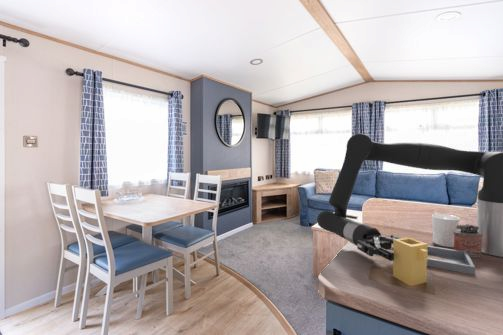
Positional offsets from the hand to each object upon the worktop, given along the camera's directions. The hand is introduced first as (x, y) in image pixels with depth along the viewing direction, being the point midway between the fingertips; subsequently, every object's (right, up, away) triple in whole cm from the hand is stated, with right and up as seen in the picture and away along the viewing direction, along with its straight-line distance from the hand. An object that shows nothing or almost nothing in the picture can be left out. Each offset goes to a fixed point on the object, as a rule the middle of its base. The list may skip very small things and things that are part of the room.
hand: (405, 254), depth 65 cm
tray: (+17, -6, +9) cm, 20 cm away
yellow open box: (0, -6, -1) cm, 6 cm away
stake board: (-1, -7, +1) cm, 7 cm away
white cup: (+30, -5, +25) cm, 39 cm away
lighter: (+30, -5, +15) cm, 34 cm away
